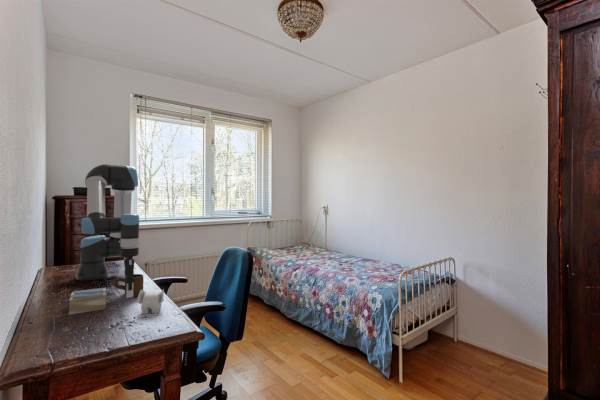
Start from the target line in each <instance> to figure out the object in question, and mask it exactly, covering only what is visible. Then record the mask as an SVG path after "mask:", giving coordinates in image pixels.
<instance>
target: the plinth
mask: <svg viewBox="0 0 600 400" xmlns="http://www.w3.org/2000/svg"><path fill="white" fill-rule="evenodd" d="M68 304H69V305H68V315H75V314H82V313H88V312H95V311H101V310H106V309H107V308H106V307H107V306H106V305H107V288H106V287H99V288H91V289H83V290H75V291H72V292H71V294H70V296H69V299H68Z"/></svg>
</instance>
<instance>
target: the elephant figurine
mask: <svg viewBox="0 0 600 400" xmlns="http://www.w3.org/2000/svg"><path fill="white" fill-rule="evenodd" d="M164 292H165V290H164V288H163V289H162V291H145V290H144V289H143V290H140V293H139V295H138V297H137V298H136V299H137V301H138V303H139V304H140V306H141V307H140V310H141V314H142V315H146V314H149V313H150V311H151V314H157V313H159V311H161V308H162V303H164V301H165V300H164Z"/></svg>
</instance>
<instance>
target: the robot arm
mask: <svg viewBox="0 0 600 400" xmlns="http://www.w3.org/2000/svg"><path fill="white" fill-rule="evenodd" d="M84 185H85V187H86V188H87V191H86V192H87V193H86V195H87V197H86V217H83V218H81V233H82V234H83V235H92V236H87V237H84V238H82V239H81V240H80V247H79V248H80V257H79V258H80V260H79V267H78V269H77V271H76V274H75V280H77V281H93V280H94V281H96V280H102V279H104V278H107V277H108V276H109V271H108V267H107V265H106V258H120V257H122V258H125V259H124V260H123V262H124V263H123V265H124V272H123V273H124V278H125V277H126V276H127V281H126V282H124V284H123V285H124V286H125V284H126V297H125V298H126V299H131V298H130V297H133V285H134V274H135V272H134V269H135V259H134V258H133V257H137V256H139V246H140V235H139V233H140V230H139V229H140V215H139V214H138V213H132V212H131V211H132V195H133V192H134V191H135V190H136V188H137V187H138V186H139V176H138V172H137V168H136V167H135V166H130V165H121V164H107V163H106V164H99V165H97V166H95V167H93V168H92V169H90V170H89V171H88V173H87V174H86V176H85V179H84ZM107 186H109V187H110V186H111V190H112V191H113V192H114V194H113V195H114V197H113V198H114V199H113V201H114V202H113V216H112V217H106V187H107ZM101 234H102V235H101ZM104 234H109V237H106V235H104ZM131 279H132V280H131Z"/></svg>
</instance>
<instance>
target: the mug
mask: <svg viewBox="0 0 600 400" xmlns="http://www.w3.org/2000/svg"><path fill="white" fill-rule="evenodd" d="M131 280H132V279H131ZM126 281H127V276H126V277H125V276H124V277H117V278H116V279H114V281H113V286H114V288H116V289H117V290H118V289H119V290H123V291H124V297H125V298H126V284H125V282H126ZM119 282H122V283H124V284H118V283H119ZM124 285H125V286H124ZM140 290H144V274H140V273H134V285H133V297H130V298H129V299H137V298H138V295H139V293H140Z"/></svg>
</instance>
